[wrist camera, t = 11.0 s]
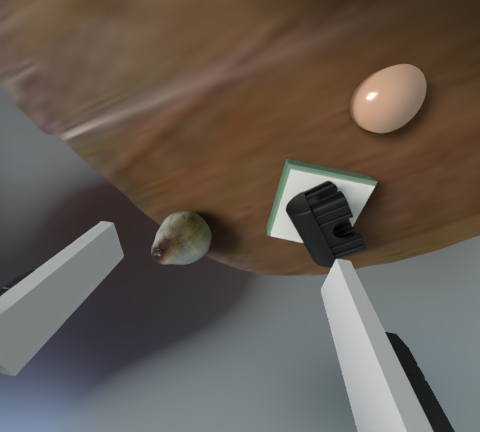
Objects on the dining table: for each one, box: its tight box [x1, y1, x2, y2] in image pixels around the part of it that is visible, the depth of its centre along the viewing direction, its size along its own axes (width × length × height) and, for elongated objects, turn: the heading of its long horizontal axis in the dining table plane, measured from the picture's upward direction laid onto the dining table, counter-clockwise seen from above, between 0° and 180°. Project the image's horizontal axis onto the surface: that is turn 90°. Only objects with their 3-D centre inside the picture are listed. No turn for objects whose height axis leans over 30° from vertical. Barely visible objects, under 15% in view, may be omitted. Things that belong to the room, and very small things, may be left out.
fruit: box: [151, 211, 212, 264], centre depth 34 cm, size 10×9×12 cm
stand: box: [267, 159, 377, 243], centre depth 32 cm, size 13×13×4 cm
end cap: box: [286, 181, 366, 267], centre depth 28 cm, size 10×7×7 cm
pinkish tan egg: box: [349, 64, 426, 133], centre depth 24 cm, size 7×7×4 cm
